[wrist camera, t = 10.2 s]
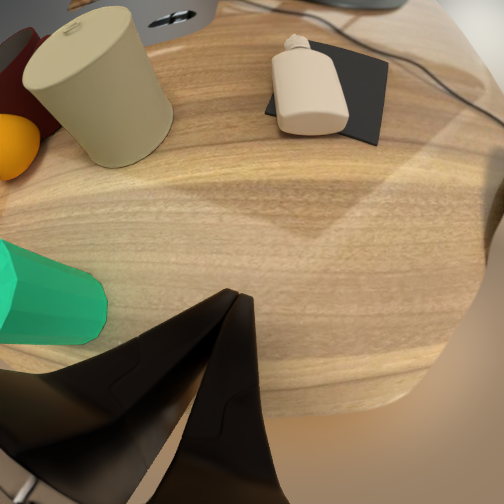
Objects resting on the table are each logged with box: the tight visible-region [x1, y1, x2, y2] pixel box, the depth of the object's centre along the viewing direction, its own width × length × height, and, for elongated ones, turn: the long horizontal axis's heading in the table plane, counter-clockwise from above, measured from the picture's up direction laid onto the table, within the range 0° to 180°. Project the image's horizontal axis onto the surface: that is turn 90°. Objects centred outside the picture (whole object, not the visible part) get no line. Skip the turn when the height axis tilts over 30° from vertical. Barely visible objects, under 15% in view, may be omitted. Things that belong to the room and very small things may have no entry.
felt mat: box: [265, 40, 388, 146], centre depth 26 cm, size 12×10×1 cm
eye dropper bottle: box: [271, 34, 349, 135], centre depth 24 cm, size 4×6×12 cm
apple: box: [0, 114, 40, 180], centre depth 23 cm, size 8×8×8 cm
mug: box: [0, 27, 61, 140], centre depth 22 cm, size 12×9×11 cm
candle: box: [0, 239, 108, 345], centre depth 16 cm, size 6×6×12 cm
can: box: [22, 6, 173, 168], centre depth 20 cm, size 9×9×12 cm
